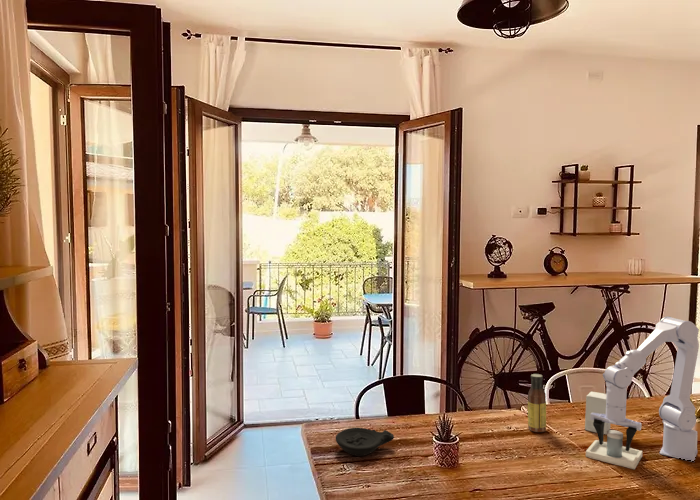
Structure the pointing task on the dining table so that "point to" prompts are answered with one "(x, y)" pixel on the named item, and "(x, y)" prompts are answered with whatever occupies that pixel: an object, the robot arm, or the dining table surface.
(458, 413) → the dining table surface
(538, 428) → the sauce bottle
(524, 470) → the dining table surface
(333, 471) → the dining table surface
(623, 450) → the tray
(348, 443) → the oil lamp
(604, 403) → the supplement box
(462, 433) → the dining table surface
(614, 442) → the cylinder
